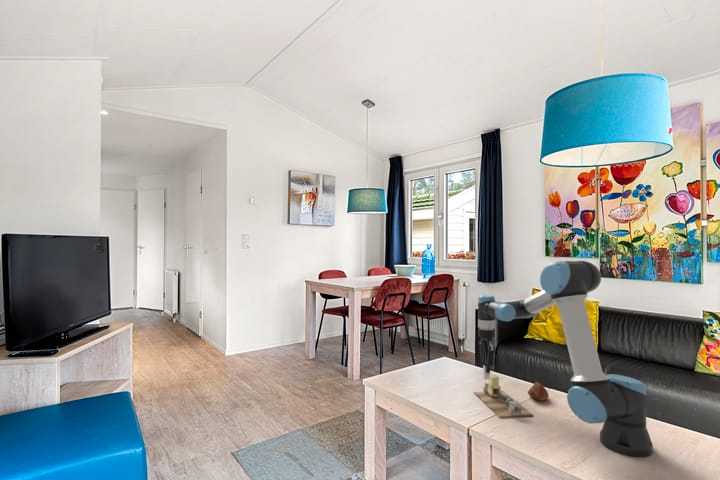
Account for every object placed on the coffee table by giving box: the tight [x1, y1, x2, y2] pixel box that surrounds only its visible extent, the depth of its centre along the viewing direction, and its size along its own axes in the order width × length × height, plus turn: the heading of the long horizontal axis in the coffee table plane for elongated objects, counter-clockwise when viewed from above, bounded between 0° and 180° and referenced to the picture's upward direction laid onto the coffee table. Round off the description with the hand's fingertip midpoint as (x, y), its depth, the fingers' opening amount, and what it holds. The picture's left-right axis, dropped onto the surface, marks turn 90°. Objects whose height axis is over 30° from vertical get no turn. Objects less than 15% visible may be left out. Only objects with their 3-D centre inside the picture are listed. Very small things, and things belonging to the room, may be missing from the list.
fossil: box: [527, 381, 550, 402], centre depth 177 cm, size 13×8×10 cm
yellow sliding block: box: [487, 374, 502, 396], centre depth 177 cm, size 4×4×8 cm
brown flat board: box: [473, 382, 534, 419], centre depth 170 cm, size 26×14×5 cm, turn 6°
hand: (486, 378), depth 185 cm, fingers closed
